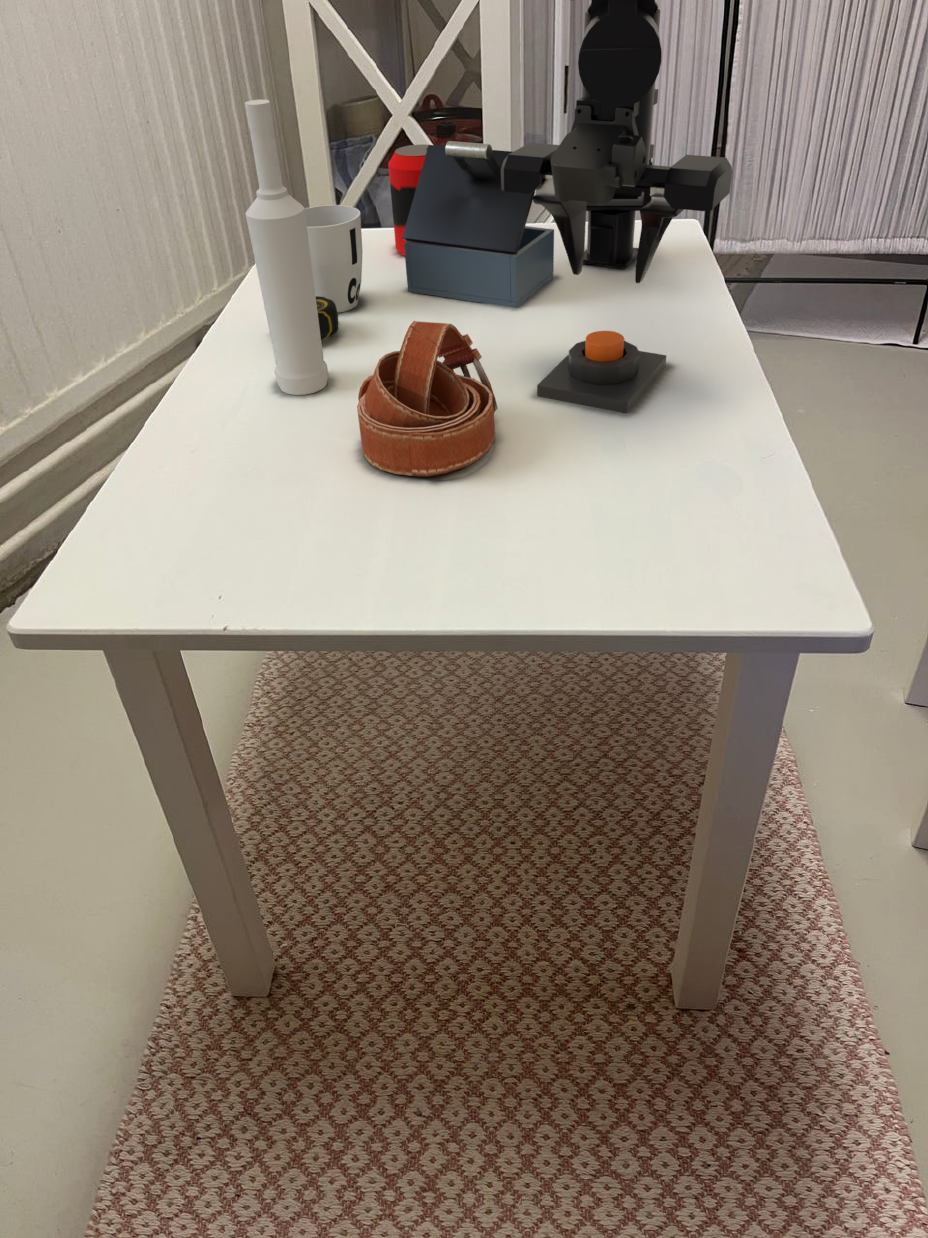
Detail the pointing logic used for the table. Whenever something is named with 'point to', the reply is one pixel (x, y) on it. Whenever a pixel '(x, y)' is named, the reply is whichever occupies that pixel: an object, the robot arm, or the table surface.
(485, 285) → the storage case
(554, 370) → the block
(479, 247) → the box lid
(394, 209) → the soda can
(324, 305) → the tape measure
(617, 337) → the button
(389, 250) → the table surface
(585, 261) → the robot arm
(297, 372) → the bottle
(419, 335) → the belt
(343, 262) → the cup
